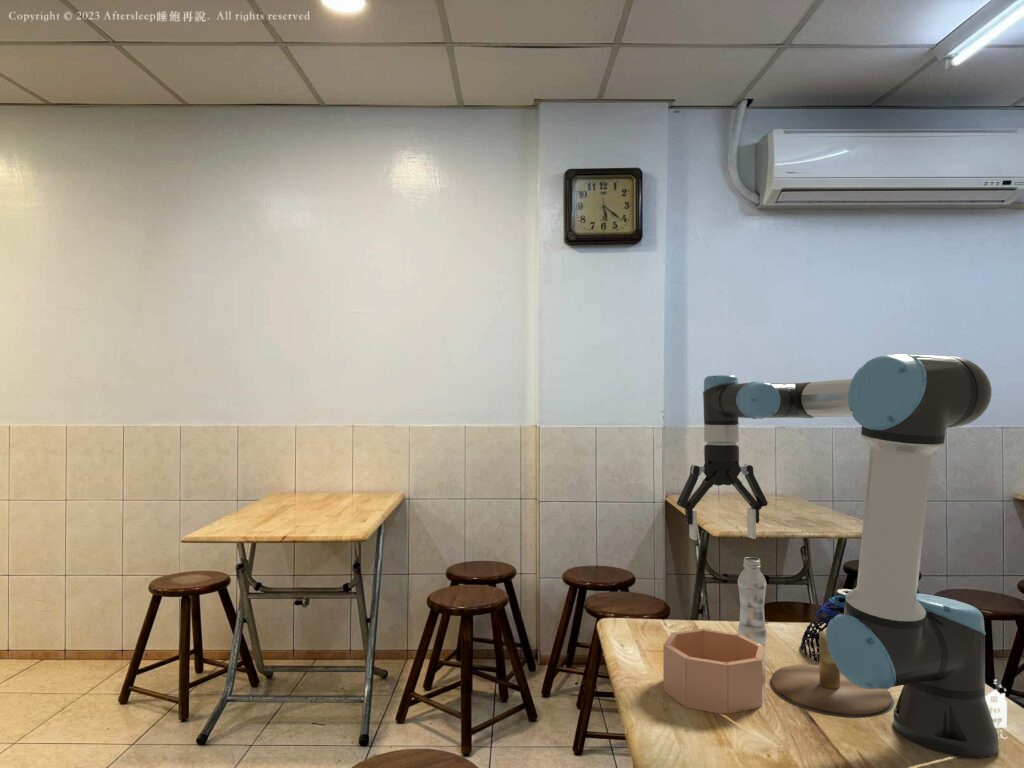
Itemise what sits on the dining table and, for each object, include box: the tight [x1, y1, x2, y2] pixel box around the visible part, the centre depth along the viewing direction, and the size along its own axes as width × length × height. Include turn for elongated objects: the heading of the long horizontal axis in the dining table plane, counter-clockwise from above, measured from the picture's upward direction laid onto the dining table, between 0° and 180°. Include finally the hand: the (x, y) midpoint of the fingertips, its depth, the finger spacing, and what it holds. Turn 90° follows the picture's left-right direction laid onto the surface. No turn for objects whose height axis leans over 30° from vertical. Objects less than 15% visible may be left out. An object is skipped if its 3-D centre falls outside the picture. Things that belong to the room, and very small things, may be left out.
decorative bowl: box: [800, 588, 852, 663], centre depth 153 cm, size 20×20×14 cm
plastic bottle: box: [737, 556, 768, 646], centre depth 159 cm, size 6×7×20 cm
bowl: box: [662, 628, 766, 716], centre depth 134 cm, size 18×18×9 cm
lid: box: [771, 630, 892, 716], centre depth 134 cm, size 21×21×11 cm
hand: (722, 538), depth 154 cm, fingers open, 13 cm apart
